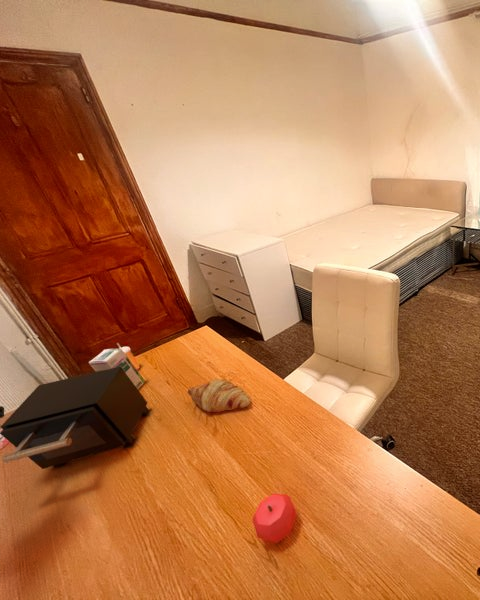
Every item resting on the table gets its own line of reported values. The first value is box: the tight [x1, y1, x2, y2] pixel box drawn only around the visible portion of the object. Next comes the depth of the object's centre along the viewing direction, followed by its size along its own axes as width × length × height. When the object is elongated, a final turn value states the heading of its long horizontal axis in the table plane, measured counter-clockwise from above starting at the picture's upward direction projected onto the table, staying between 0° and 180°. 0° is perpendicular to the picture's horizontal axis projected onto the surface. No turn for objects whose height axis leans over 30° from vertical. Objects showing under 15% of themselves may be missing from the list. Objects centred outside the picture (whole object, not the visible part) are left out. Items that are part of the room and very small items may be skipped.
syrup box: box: [88, 348, 146, 390], centre depth 95 cm, size 6×6×14 cm
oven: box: [0, 366, 150, 468], centre depth 79 cm, size 13×18×17 cm
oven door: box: [0, 406, 126, 470], centre depth 70 cm, size 8×17×14 cm, turn 108°
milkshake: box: [116, 342, 141, 371], centre depth 104 cm, size 4×5×10 cm
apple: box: [252, 493, 297, 544], centre depth 60 cm, size 8×8×8 cm
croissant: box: [187, 378, 251, 413], centre depth 90 cm, size 21×10×8 cm, turn 77°
